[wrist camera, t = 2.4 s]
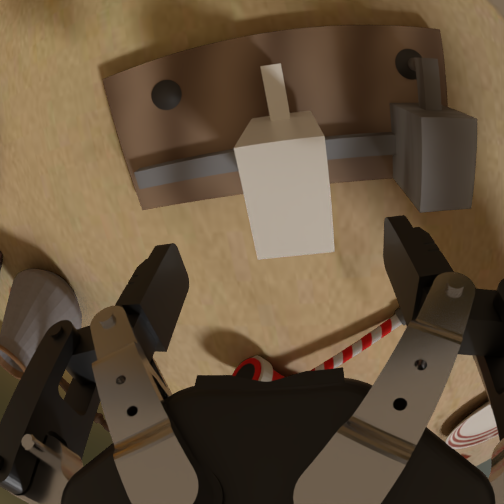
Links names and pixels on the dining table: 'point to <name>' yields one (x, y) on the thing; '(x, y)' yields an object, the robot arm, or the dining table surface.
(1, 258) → the flask
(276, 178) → the gauge slider
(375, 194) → the dining table surface
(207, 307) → the dining table surface
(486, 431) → the dinner plate
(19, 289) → the coffee pot
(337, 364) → the toy hammer
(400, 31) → the base
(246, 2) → the dining table surface
